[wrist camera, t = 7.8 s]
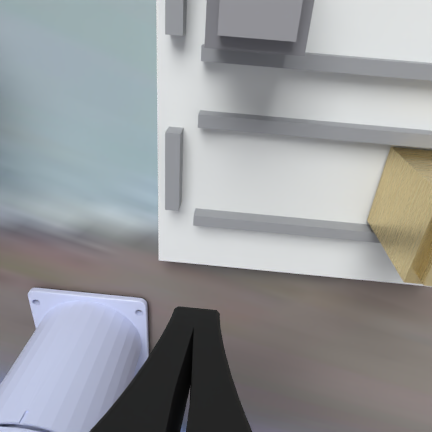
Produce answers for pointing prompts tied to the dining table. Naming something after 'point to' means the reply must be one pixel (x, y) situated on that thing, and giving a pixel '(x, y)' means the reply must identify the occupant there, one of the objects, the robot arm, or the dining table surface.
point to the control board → (288, 137)
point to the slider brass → (406, 213)
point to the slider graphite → (259, 25)
